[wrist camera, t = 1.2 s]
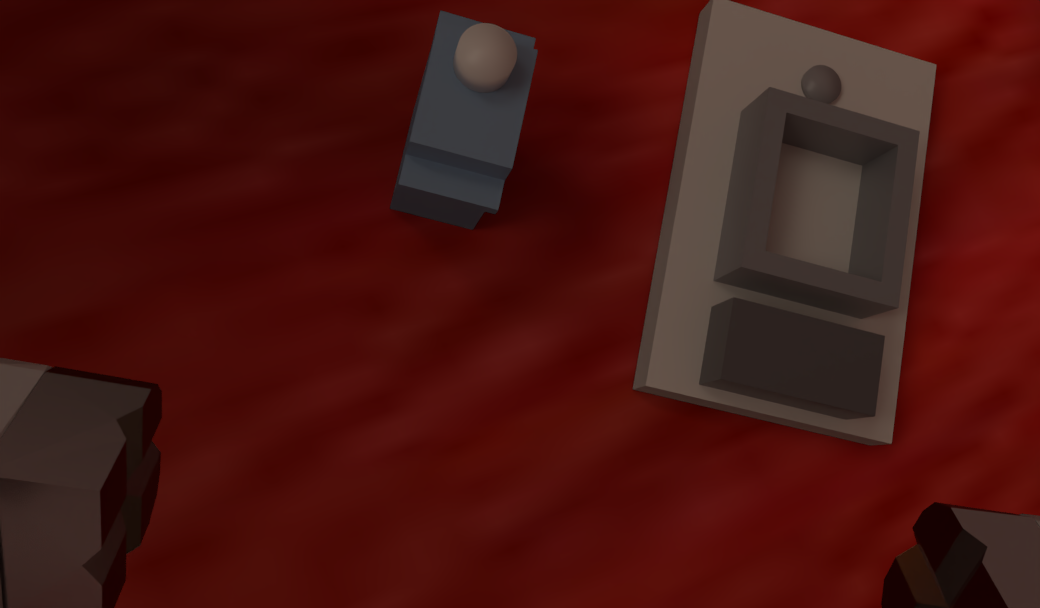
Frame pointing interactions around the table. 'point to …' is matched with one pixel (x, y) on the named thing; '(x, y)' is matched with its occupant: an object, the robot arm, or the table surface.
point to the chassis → (789, 227)
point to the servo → (465, 122)
